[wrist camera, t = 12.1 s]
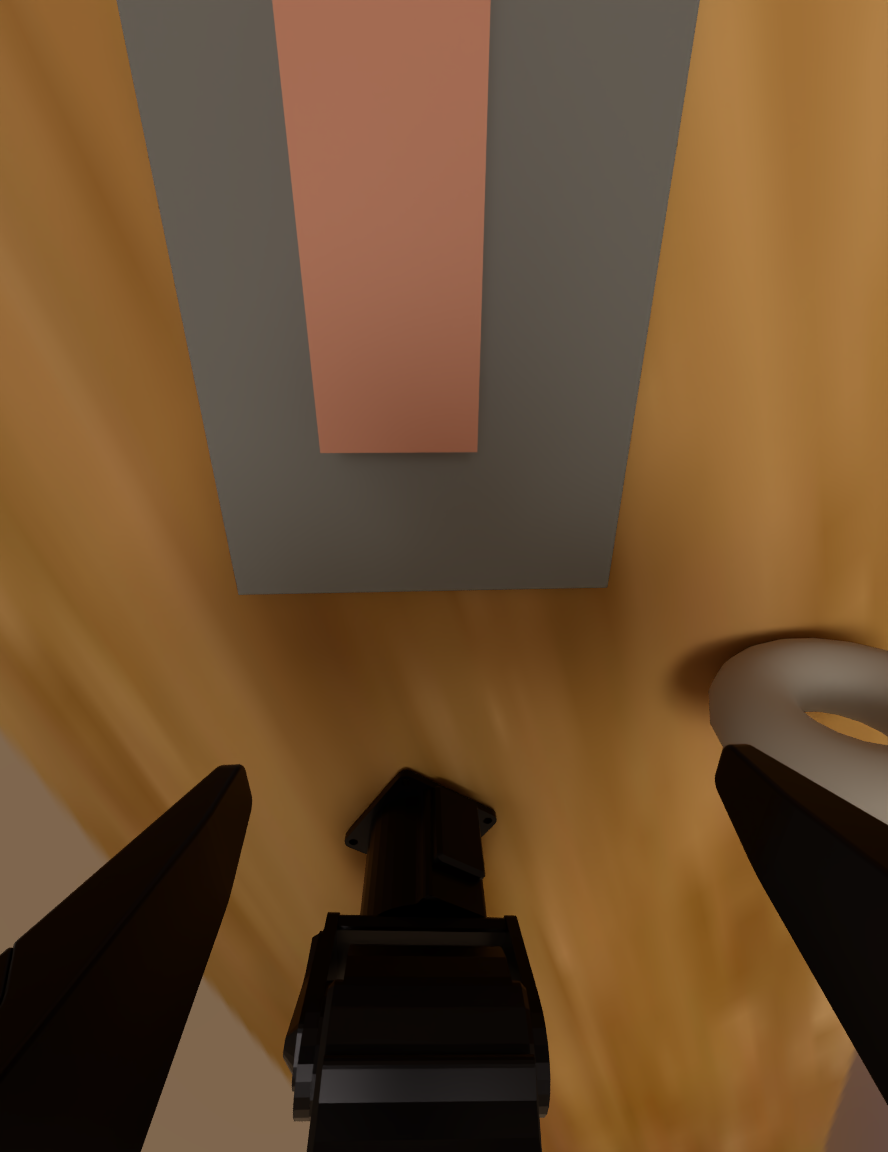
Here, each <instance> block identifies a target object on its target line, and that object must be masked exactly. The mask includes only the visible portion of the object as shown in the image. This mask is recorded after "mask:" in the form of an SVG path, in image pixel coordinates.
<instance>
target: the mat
mask: <svg viewBox="0 0 888 1152" xmlns="http://www.w3.org/2000/svg"><path fill="white" fill-rule="evenodd" d="M699 1H700V0H491V5H490V39H489V73H488V106H487V140H486V174H485V208H484V242H483V276H482V310H481V343H480V377H479V411H478V445H477V452H418V453H320V446H319V436H318V427H317V418H316V408H315V399H314V389H313V380H312V371H311V361H310V352H309V342H308V333H307V324H306V314H305V305H304V295H303V286H302V277H301V267H300V258H299V248H298V239H297V230H296V220H295V211H294V201H293V192H292V183H291V173H290V164H289V154H288V145H287V136H286V126H285V117H284V107H283V98H282V89H281V79H280V70H279V60H278V51H277V42H276V32H275V23H274V13H273V4H272V0H117V5H118V9H119V14H120V19H121V24H122V29H123V34H124V39H125V44H126V48H127V53H128V58H129V63H130V68H131V73H132V78H133V83H134V87H135V92H136V97H137V102H138V107H139V112H140V117H141V122H142V126H143V131H144V136H145V141H146V146H147V151H148V156H149V160H150V165H151V170H152V175H153V180H154V185H155V190H156V195H157V199H158V204H159V209H160V214H161V219H162V224H163V229H164V234H165V238H166V243H167V248H168V253H169V258H170V263H171V268H172V273H173V277H174V282H175V287H176V292H177V297H178V302H179V307H180V312H181V316H182V321H183V326H184V331H185V336H186V341H187V346H188V350H189V355H190V360H191V365H192V370H193V375H194V380H195V385H196V389H197V394H198V399H199V404H200V409H201V414H202V419H203V424H204V428H205V433H206V438H207V443H208V448H209V453H210V458H211V463H212V467H213V472H214V477H215V482H216V487H217V492H218V497H219V501H220V506H221V511H222V516H223V521H224V526H225V531H226V536H227V540H228V545H229V550H230V555H231V560H232V565H233V570H234V575H235V579H236V584H237V589H238V594H239V595H246V594H298V593H349V592H400V591H451V590H503V589H554V588H605V587H607V586H608V579H609V573H610V567H611V560H612V554H613V548H614V541H615V535H616V529H617V522H618V516H619V510H620V503H621V497H622V491H623V484H624V478H625V471H626V465H627V459H628V452H629V446H630V440H631V433H632V427H633V421H634V414H635V408H636V402H637V395H638V389H639V383H640V376H641V370H642V363H643V357H644V351H645V344H646V338H647V332H648V325H649V319H650V313H651V306H652V300H653V294H654V287H655V281H656V275H657V268H658V262H659V255H660V249H661V243H662V236H663V230H664V224H665V217H666V211H667V205H668V198H669V192H670V186H671V179H672V173H673V166H674V160H675V154H676V147H677V141H678V135H679V128H680V122H681V116H682V109H683V103H684V97H685V90H686V84H687V78H688V71H689V65H690V58H691V52H692V46H693V39H694V33H695V27H696V20H697V14H698V8H699Z"/></svg>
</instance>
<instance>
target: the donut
mask: <svg viewBox="0 0 888 1152" xmlns="http://www.w3.org/2000/svg"><path fill="white" fill-rule="evenodd" d="M709 710H710V724H711V726H712V727H713V729H714V731H715V733H716V735H717V737H718V739H719V741H720V742H721V744H722V746H723V748H724V747H725V746H726V745H728V744H749V745H752V746H754V747H755V748H757V749H759V750H760V751H762V752H764V753H766V754H767V755H769V756H771V757H772V758H774V759H776V760H778V761H779V762H781V763H783V764H784V765H786V766H788V767H790V768H791V769H793V770H795V771H796V772H798V773H800V774H802V775H803V776H805V777H807V778H808V779H810V780H812V781H814V782H815V783H817V784H819V785H820V786H822V787H824V788H826V789H827V790H829V791H831V792H832V793H834V794H836V795H838V796H839V797H841V798H843V799H844V800H846V801H848V802H850V803H851V804H853V805H855V806H856V807H858V808H860V809H862V810H863V811H865V812H867V813H868V814H870V815H872V816H874V817H875V818H877V819H879V820H880V821H882V822H884V823H886V824H887V825H888V746H887V745H882V744H876V743H871V742H865V741H862V740H859V739H856V738H853V737H850V736H847V735H844V734H841V733H838V732H836V731H834V730H832V729H830V728H828V727H826V726H824V725H822V724H820V723H818V722H816V721H815V720H813V719H812V718H811V717H809V716H808V715H807V714H805V713H804V712H824V713H830V714H836V715H840V716H844V717H847V718H850V719H853V720H856V721H859V722H862V723H864V724H866V725H868V726H870V727H872V728H874V729H876V730H878V731H880V732H882V733H883V734H885V735H886V736H888V651H887V650H883V649H878V648H874V647H870V646H866V645H861V644H857V643H853V642H847V641H838V640H829V639H820V638H794V639H780V640H775V641H771V642H767V643H763V644H758V645H755V646H752V647H748V648H747V649H745V650H743V651H742V652H740V653H738V654H737V655H735V656H733V657H732V658H730V659H729V660H727V661H726V662H725V663H724V664H723V665H722V666H721V668H720V670H719V672H718V673H717V675H716V677H715V678H714V680H713V682H712V684H711V686H710V689H709Z"/></svg>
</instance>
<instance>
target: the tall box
mask: <svg viewBox="0 0 888 1152" xmlns="http://www.w3.org/2000/svg"><path fill="white" fill-rule="evenodd" d="M272 4H273V13H274V23H275V32H276V42H277V51H278V60H279V70H280V79H281V89H282V98H283V107H284V117H285V126H286V136H287V145H288V154H289V164H290V173H291V183H292V192H293V201H294V211H295V220H296V230H297V239H298V248H299V258H300V267H301V277H302V286H303V295H304V305H305V314H306V324H307V333H308V342H309V352H310V361H311V371H312V380H313V389H314V399H315V408H316V418H317V427H318V436H319V446H320V453H418V452H477V445H478V411H479V377H480V343H481V310H482V276H483V242H484V208H485V174H486V140H487V106H488V73H489V39H490V5H491V0H272Z"/></svg>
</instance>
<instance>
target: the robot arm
mask: <svg viewBox="0 0 888 1152" xmlns="http://www.w3.org/2000/svg"><path fill="white" fill-rule="evenodd" d="M405 779H407V780H405ZM715 785H716V788H717V791H718V793H719V796H720V798H721V800H722V802H723V804H724V806H725V809H726V811H727V813H728V815H729V817H730V820H731V822H732V824H733V826H734V828H735V830H736V833H737V835H738V837H739V839H740V841H741V844H742V846H743V848H744V850H745V852H746V854H747V857H748V859H749V861H750V863H751V865H752V867H753V869H754V871H755V873H756V875H757V877H758V878H759V880H760V882H761V884H762V886H763V888H764V889H765V891H766V893H767V895H768V896H769V898H770V900H771V902H772V903H773V905H774V907H775V909H776V910H777V912H778V914H779V916H780V917H781V919H782V921H783V923H784V924H785V926H786V928H787V930H788V931H789V933H790V935H791V937H792V938H793V940H794V942H795V944H796V945H797V947H798V949H799V951H800V952H801V954H802V956H803V958H804V959H805V961H806V963H807V965H808V966H809V968H810V970H811V972H812V973H813V975H814V977H815V979H816V980H817V982H818V984H819V986H820V987H821V989H822V991H823V993H824V995H825V996H826V998H827V1000H828V1002H829V1003H830V1005H831V1007H832V1009H833V1010H834V1012H835V1014H836V1016H837V1017H838V1019H839V1021H840V1023H841V1024H842V1026H843V1028H844V1030H845V1031H846V1033H847V1035H848V1037H849V1038H850V1040H851V1042H852V1044H853V1045H854V1047H855V1049H856V1051H857V1052H858V1054H859V1056H860V1057H861V1059H862V1061H863V1063H864V1064H865V1066H866V1068H867V1070H868V1071H869V1073H870V1075H871V1077H872V1079H873V1080H874V1082H875V1084H876V1086H877V1087H878V1089H879V1091H880V1092H881V1094H882V1096H883V1098H884V1099H885V1101H886V1103H887V1105H888V825H887V824H886V823H884V822H882V821H880V820H879V819H877V818H875V817H874V816H872V815H870V814H868V813H867V812H865V811H863V810H862V809H860V808H858V807H856V806H855V805H853V804H851V803H850V802H848V801H846V800H844V799H843V798H841V797H839V796H838V795H836V794H834V793H832V792H831V791H829V790H827V789H826V788H824V787H822V786H820V785H819V784H817V783H815V782H814V781H812V780H810V779H808V778H807V777H805V776H803V775H802V774H800V773H798V772H796V771H795V770H793V769H791V768H790V767H788V766H786V765H784V764H783V763H781V762H779V761H778V760H776V759H774V758H772V757H771V756H769V755H767V754H766V753H764V752H762V751H760V750H759V749H757V748H755V747H754V746H752V745H749V744H728V745H726V746H725V747H724V748H723V750H722V753H721V756H720V760H719V763H718V767H717V770H716V774H715ZM251 808H252V795H251V791H250V787H249V783H248V779H247V774H246V770H245V768H244V767H243V766H242V765H240V764H236V765H221V766H219V767H217V768H216V769H215V770H213V771H212V772H211V773H210V774H209V775H208V776H206V777H205V778H204V779H203V780H202V781H201V782H200V783H198V784H197V785H196V786H195V787H194V788H193V789H191V790H190V791H189V792H188V793H187V794H186V795H185V796H183V797H182V798H181V799H180V800H179V801H178V802H176V803H175V804H174V805H173V806H172V807H171V808H170V809H168V810H167V811H166V812H165V813H164V814H163V815H161V816H160V817H159V818H158V819H157V820H156V821H154V822H153V823H152V824H151V825H150V826H149V827H148V828H146V829H145V830H144V831H143V832H142V833H141V834H139V835H138V836H137V837H136V838H135V839H134V840H133V841H131V842H130V843H129V844H128V845H127V846H126V847H124V848H123V849H122V850H121V851H120V852H119V853H118V854H116V855H115V856H114V857H113V858H112V859H111V860H109V861H108V862H107V863H106V864H105V865H104V866H103V867H101V868H100V869H99V870H98V871H97V872H96V873H94V874H93V875H92V876H91V877H90V878H89V879H88V880H86V881H85V882H84V883H83V884H82V885H81V886H80V887H78V888H77V889H76V890H75V891H74V892H72V893H71V894H70V895H69V896H68V897H67V898H66V899H65V900H63V901H62V902H61V903H60V904H59V905H57V906H56V907H55V908H54V909H53V910H52V911H51V912H49V913H48V914H47V915H46V916H45V917H44V918H43V919H41V920H40V921H39V922H38V923H37V924H36V925H34V926H33V927H32V928H31V929H30V930H29V931H28V932H26V933H25V934H24V935H23V936H22V937H20V938H19V939H18V940H17V941H16V942H15V943H14V946H13V948H8V949H6V950H5V951H4V952H3V953H2V954H1V955H0V1152H141V1149H142V1147H143V1144H144V1141H145V1138H146V1135H147V1132H148V1129H149V1127H150V1124H151V1121H152V1118H153V1115H154V1112H155V1110H156V1107H157V1104H158V1101H159V1098H160V1095H161V1093H162V1090H163V1087H164V1084H165V1081H166V1078H167V1076H168V1073H169V1070H170V1067H171V1064H172V1061H173V1058H174V1055H175V1053H176V1050H177V1047H178V1044H179V1041H180V1039H181V1035H182V1033H183V1030H184V1027H185V1024H186V1021H187V1018H188V1015H189V1013H190V1010H191V1007H192V1004H193V1002H194V998H195V996H196V993H197V990H198V987H199V985H200V981H201V979H202V976H203V973H204V970H205V967H206V965H207V962H208V959H209V956H210V953H211V950H212V948H213V945H214V942H215V939H216V936H217V933H218V930H219V928H220V925H221V922H222V919H223V916H224V913H225V910H226V907H227V904H228V901H229V898H230V894H231V890H232V887H233V883H234V879H235V874H236V870H237V866H238V862H239V858H240V854H241V850H242V846H243V842H244V838H245V834H246V829H247V825H248V821H249V817H250V813H251ZM496 820H497V819H496V813H495V811H494V810H492V809H490V808H488V807H486V806H484V805H482V804H480V803H478V802H476V801H473V800H471V799H469V798H467V797H465V796H463V795H461V794H459V793H457V792H454V791H452V790H450V789H448V788H446V787H444V786H442V785H440V784H437V783H435V782H433V781H431V780H429V779H427V778H425V777H423V776H421V775H418V774H416V773H414V772H412V771H409V770H403V771H401V772H399V773H398V774H397V775H396V777H395V778H394V779H393V780H392V781H391V782H390V783H389V785H388V786H387V787H386V788H385V789H384V790H383V792H382V793H381V794H380V795H379V796H378V797H377V798H376V800H375V801H374V802H373V803H372V804H371V805H370V806H369V808H368V809H367V810H366V811H365V812H364V813H363V815H362V816H361V817H360V818H359V819H358V820H357V821H356V823H355V824H354V825H353V826H352V827H351V828H350V829H349V831H348V832H347V833H346V836H345V844H346V846H348V847H350V848H353V849H355V850H357V851H360V852H362V853H365V854H367V859H366V868H365V877H364V885H363V894H362V903H361V912H360V915H340V912H328V914H327V918H326V923H325V927H324V930H323V931H320V933H319V934H317V935H316V936H314V937H313V938H312V943H311V948H310V953H309V959H308V964H307V969H306V973H305V978H304V982H303V985H302V988H301V992H300V995H299V998H298V1001H297V1004H296V1007H295V1010H294V1013H293V1017H292V1020H291V1023H290V1026H289V1029H288V1032H287V1035H286V1039H285V1044H284V1051H283V1058H284V1060H285V1062H286V1064H287V1066H288V1067H289V1069H290V1071H291V1073H292V1075H293V1076H292V1091H294V1103H293V1119H294V1121H310V1129H309V1137H308V1146H307V1152H542V1148H541V1133H540V1119H539V1118H544V1117H545V1116H546V1115H547V1112H548V1108H549V1100H550V1062H549V1050H548V1041H547V1034H546V1027H545V1021H544V1016H543V1011H542V1007H541V1002H540V999H539V995H538V991H537V988H536V984H535V981H534V977H533V974H532V970H531V967H530V963H529V959H528V956H527V952H526V949H525V945H524V942H523V938H522V935H521V931H520V927H519V924H518V920H517V917H516V916H509V915H504V918H491V917H487V916H486V907H485V898H484V889H483V880H482V879H483V878H484V877H485V868H484V859H483V851H482V843H481V837H482V836H483V835H484V834H485V833H486V832H487V831H488V830H489V829H490V828H491V827H492V826H493V825H494V824H495V823H496Z"/></svg>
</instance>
